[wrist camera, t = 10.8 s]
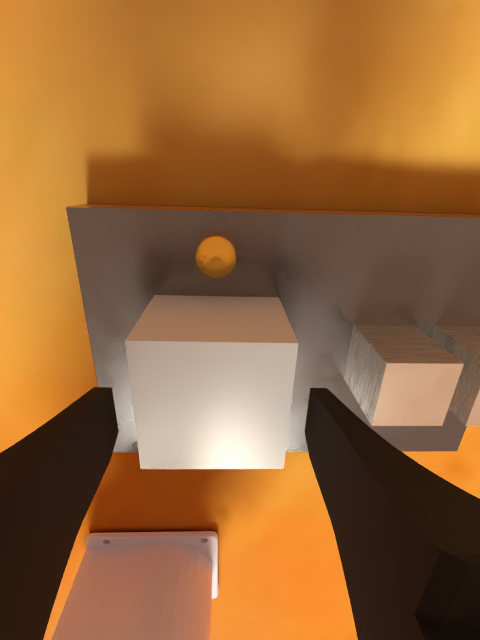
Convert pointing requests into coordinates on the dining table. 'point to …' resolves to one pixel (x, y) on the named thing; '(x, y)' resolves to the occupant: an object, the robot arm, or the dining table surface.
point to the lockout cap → (212, 382)
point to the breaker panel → (305, 303)
